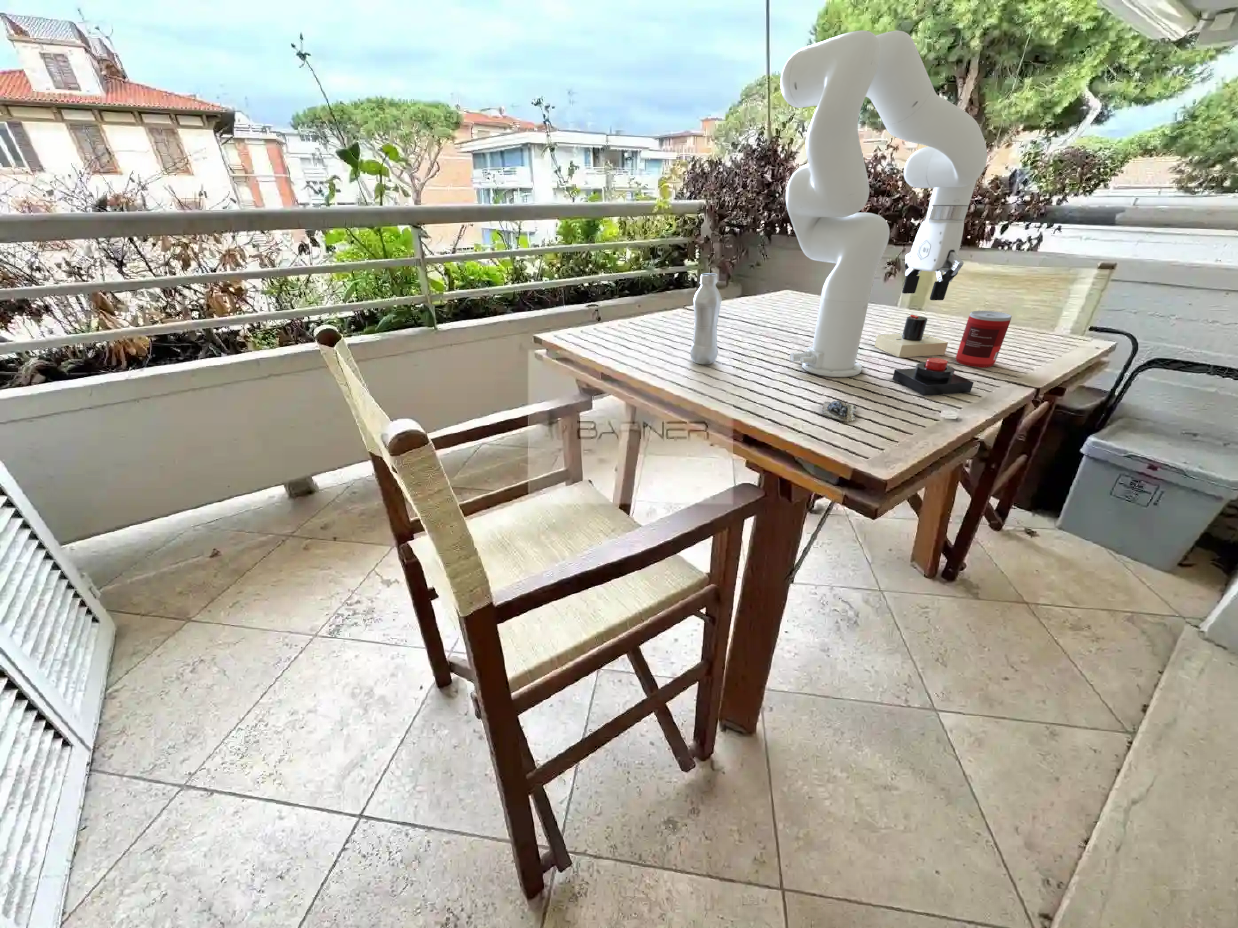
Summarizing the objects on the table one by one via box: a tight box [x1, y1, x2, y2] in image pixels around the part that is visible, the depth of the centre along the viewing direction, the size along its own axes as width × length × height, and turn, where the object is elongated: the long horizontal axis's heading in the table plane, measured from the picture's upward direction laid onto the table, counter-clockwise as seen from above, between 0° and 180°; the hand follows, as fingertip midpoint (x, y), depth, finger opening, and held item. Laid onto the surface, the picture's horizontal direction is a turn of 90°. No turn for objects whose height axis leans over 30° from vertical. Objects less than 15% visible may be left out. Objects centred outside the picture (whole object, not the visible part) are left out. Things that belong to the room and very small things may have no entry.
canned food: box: [955, 310, 1013, 369], centre depth 109 cm, size 8×8×11 cm
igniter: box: [892, 361, 975, 397], centre depth 98 cm, size 10×10×4 cm
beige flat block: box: [874, 333, 949, 358], centre depth 120 cm, size 12×10×3 cm
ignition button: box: [925, 357, 949, 370], centre depth 97 cm, size 4×4×2 cm
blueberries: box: [821, 400, 857, 423], centre depth 87 cm, size 7×8×2 cm
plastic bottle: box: [689, 272, 723, 365], centre depth 111 cm, size 6×7×20 cm
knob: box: [901, 314, 928, 341], centre depth 118 cm, size 4×4×5 cm
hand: (921, 296), depth 114 cm, fingers open, 9 cm apart
